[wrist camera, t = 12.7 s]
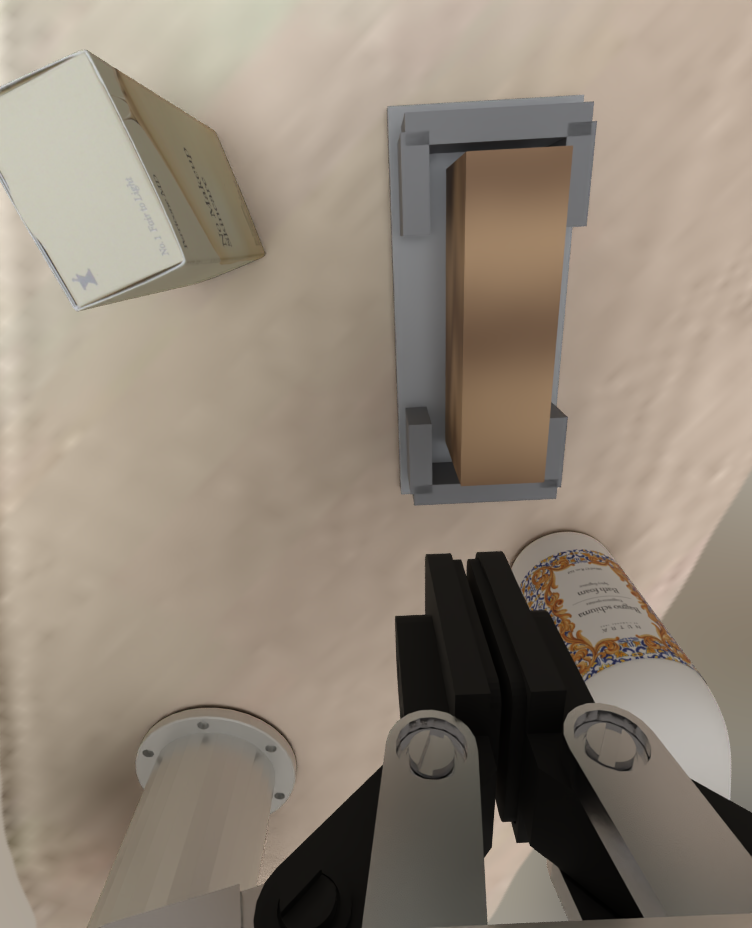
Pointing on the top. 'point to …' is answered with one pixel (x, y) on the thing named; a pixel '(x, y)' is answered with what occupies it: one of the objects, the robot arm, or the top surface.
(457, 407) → the slat
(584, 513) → the top surface
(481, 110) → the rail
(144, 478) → the top surface
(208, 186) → the skincare box
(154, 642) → the top surface
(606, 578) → the bath foam
